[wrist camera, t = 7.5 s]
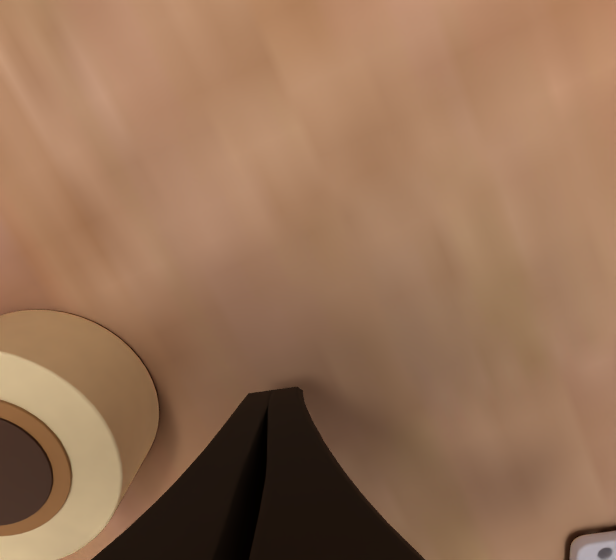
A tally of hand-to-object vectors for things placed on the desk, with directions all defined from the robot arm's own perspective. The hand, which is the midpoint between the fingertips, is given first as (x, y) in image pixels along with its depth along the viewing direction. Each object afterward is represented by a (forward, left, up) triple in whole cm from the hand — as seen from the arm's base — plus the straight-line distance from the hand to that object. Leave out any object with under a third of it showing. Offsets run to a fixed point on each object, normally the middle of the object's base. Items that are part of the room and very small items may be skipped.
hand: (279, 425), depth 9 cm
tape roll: (+7, 0, -3) cm, 8 cm away
